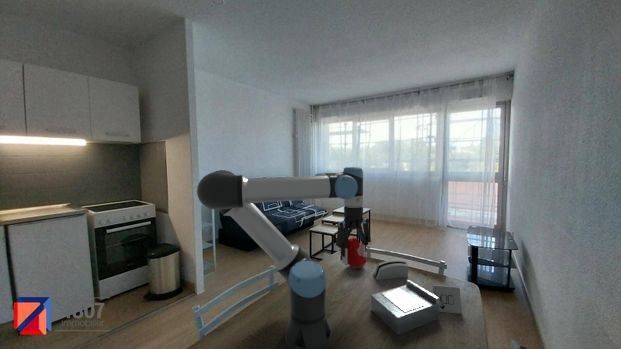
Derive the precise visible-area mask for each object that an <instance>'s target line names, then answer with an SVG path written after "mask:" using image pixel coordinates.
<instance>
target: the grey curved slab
mask: <svg viewBox="0 0 621 349" xmlns="http://www.w3.org/2000/svg"><path fill="white" fill-rule="evenodd" d="M409 270H410V266H409V264H407V262H406V261H405V260H401V259H390V260H385V261H383V262H379V263H378V264H377V265H376V268H375V270H374V272H373V274H372V276H374V277H375V279H376V280H377V281H381V280H391V279H398V278H405V277H406V278H407V277H409Z"/></svg>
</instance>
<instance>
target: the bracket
mask: <svg viewBox="0 0 621 349" xmlns="http://www.w3.org/2000/svg"><path fill="white" fill-rule="evenodd" d="M359 247H360V241H359V240H358V239H357V238H356V237H353V238H352V237H351V238H349V239H348V242H347V245H346V248H347V266H350V267H351V266H353V267H354V266H357V267H359V266H361V265H363V264H365V263H367V261H366V258H365V257H363V256H360V255H358V251H357V249H358V248H359ZM339 257H340V261H342V256H341V255H340V256H339ZM365 265H366V264H365ZM353 267H352V268H353Z"/></svg>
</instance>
